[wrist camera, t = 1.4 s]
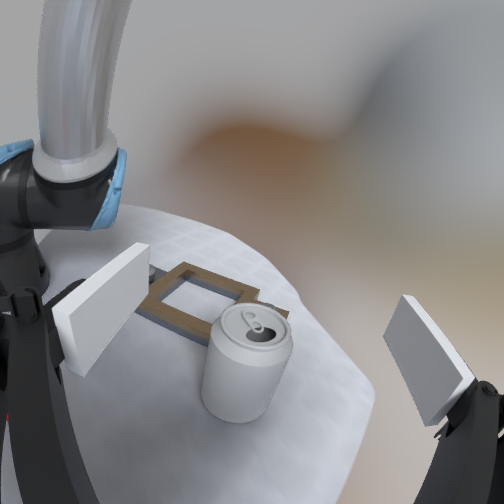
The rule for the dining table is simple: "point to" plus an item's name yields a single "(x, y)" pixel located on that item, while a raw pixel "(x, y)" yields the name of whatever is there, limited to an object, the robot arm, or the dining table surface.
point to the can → (245, 361)
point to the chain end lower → (158, 273)
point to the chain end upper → (185, 319)
